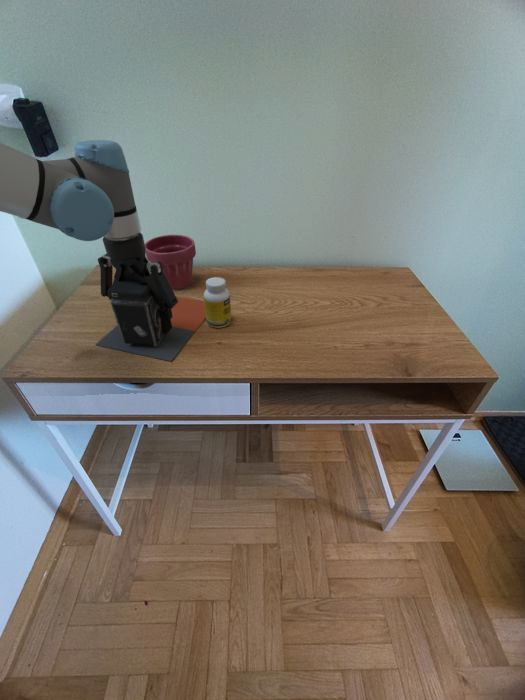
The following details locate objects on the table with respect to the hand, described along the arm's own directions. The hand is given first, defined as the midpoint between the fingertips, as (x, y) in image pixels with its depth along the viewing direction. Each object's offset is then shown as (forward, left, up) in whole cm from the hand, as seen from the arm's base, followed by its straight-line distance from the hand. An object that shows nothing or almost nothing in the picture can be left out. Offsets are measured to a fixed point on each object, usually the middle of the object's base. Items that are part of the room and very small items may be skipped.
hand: (146, 326), depth 77 cm
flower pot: (-7, +27, -3) cm, 28 cm away
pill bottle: (+14, +11, -3) cm, 18 cm away
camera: (0, 0, -3) cm, 3 cm away
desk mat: (0, +6, -3) cm, 7 cm away
